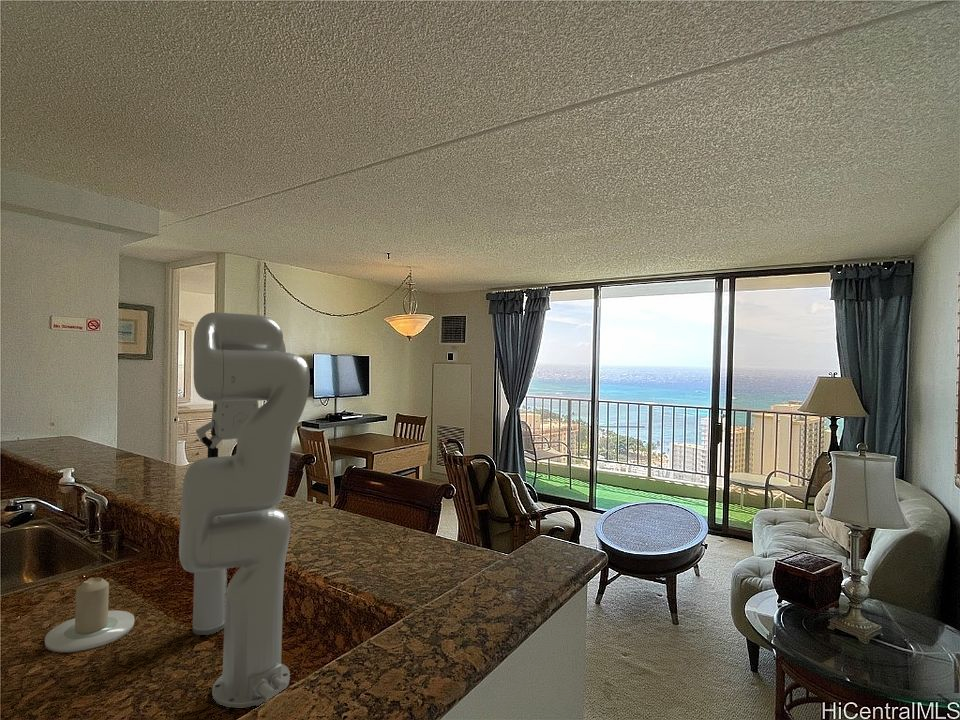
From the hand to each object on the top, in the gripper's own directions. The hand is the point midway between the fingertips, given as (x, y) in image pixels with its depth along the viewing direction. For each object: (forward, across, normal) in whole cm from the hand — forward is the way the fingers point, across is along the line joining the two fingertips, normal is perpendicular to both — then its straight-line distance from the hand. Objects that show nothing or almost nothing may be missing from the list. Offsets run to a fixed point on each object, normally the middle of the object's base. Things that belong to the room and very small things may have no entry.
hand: (234, 461), depth 124 cm
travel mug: (+34, -9, -10) cm, 36 cm away
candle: (+32, -26, +6) cm, 42 cm away
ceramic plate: (+33, -26, +6) cm, 43 cm away
